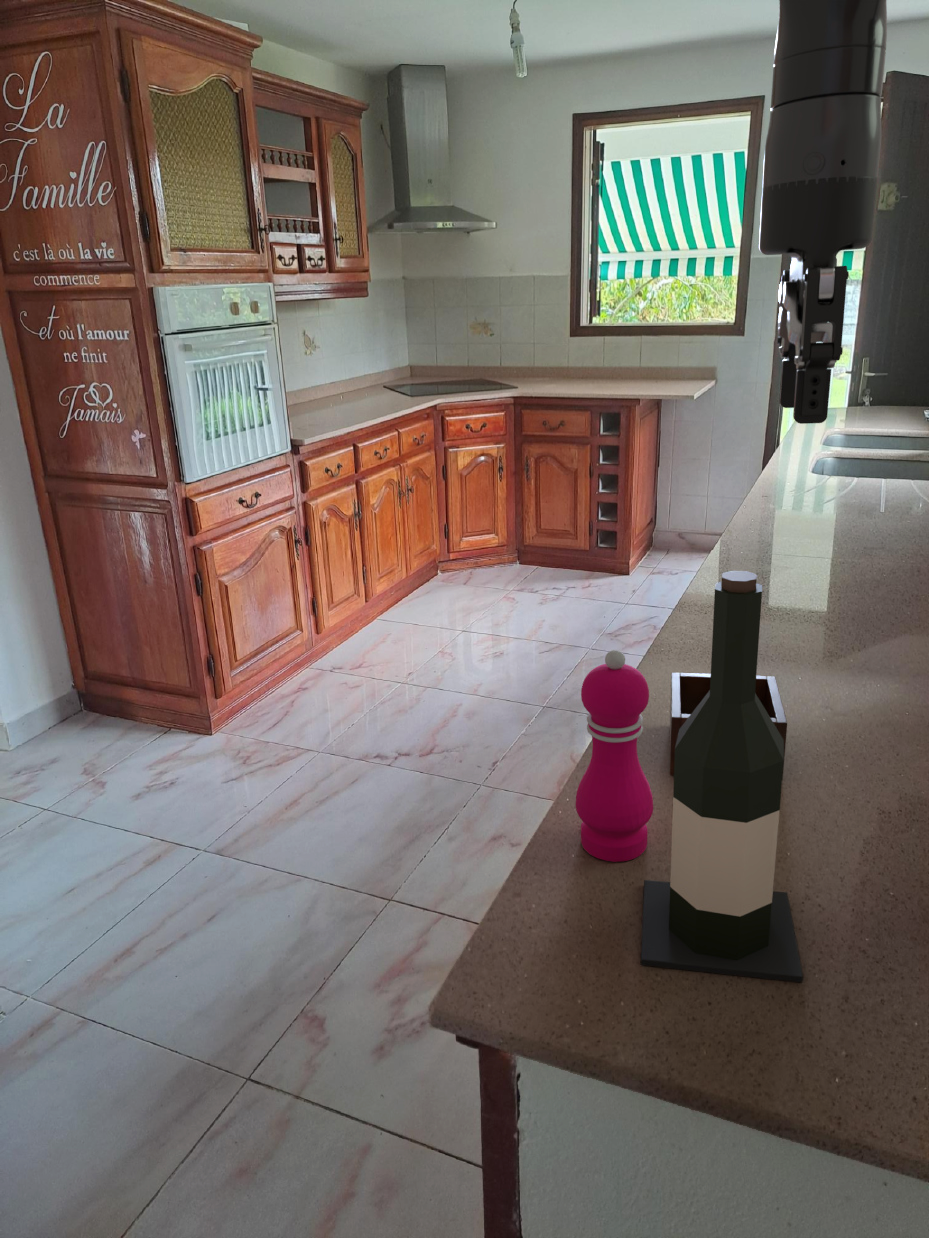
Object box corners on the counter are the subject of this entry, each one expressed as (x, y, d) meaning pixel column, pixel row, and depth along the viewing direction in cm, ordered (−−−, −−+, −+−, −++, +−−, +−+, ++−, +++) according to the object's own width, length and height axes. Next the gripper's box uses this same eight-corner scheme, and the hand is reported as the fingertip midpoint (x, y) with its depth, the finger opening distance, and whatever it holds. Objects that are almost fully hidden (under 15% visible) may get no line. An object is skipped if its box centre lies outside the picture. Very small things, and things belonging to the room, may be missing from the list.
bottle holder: (771, 730, 103) (775, 676, 101) (782, 782, 93) (787, 722, 90) (669, 725, 106) (671, 672, 103) (669, 775, 95) (671, 717, 93)
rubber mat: (786, 897, 75) (787, 892, 75) (802, 982, 66) (803, 976, 66) (644, 885, 78) (644, 879, 78) (640, 965, 69) (640, 959, 69)
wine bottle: (749, 887, 76) (774, 554, 66) (789, 955, 68) (824, 590, 58) (654, 896, 76) (663, 562, 65) (684, 965, 68) (699, 599, 57)
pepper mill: (641, 873, 80) (645, 671, 73) (565, 856, 83) (562, 661, 76) (660, 829, 86) (665, 640, 79) (588, 815, 89) (587, 631, 82)
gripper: (902, 161, 54) (874, 428, 60) (856, 184, 67) (837, 401, 73) (773, 172, 56) (758, 430, 61) (753, 192, 69) (742, 404, 74)
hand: (801, 414), depth 67 cm, fingers open, 8 cm apart
